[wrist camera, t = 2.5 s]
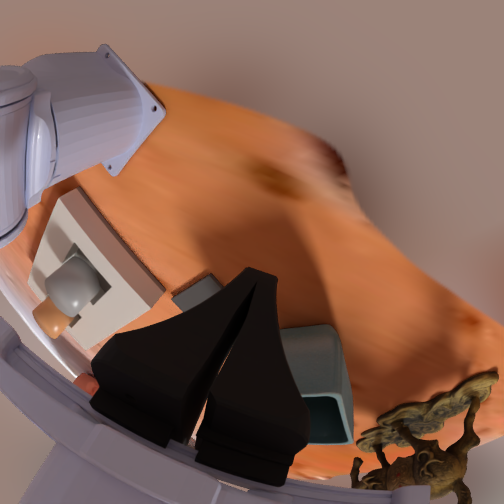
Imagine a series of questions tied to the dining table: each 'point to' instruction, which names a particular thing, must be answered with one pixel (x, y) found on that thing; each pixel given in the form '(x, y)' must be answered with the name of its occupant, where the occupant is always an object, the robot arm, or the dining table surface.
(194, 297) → the mat
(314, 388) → the flower pot
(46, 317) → the tan button
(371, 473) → the figurine
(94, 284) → the grey button
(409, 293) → the dining table surface
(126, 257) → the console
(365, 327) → the dining table surface
